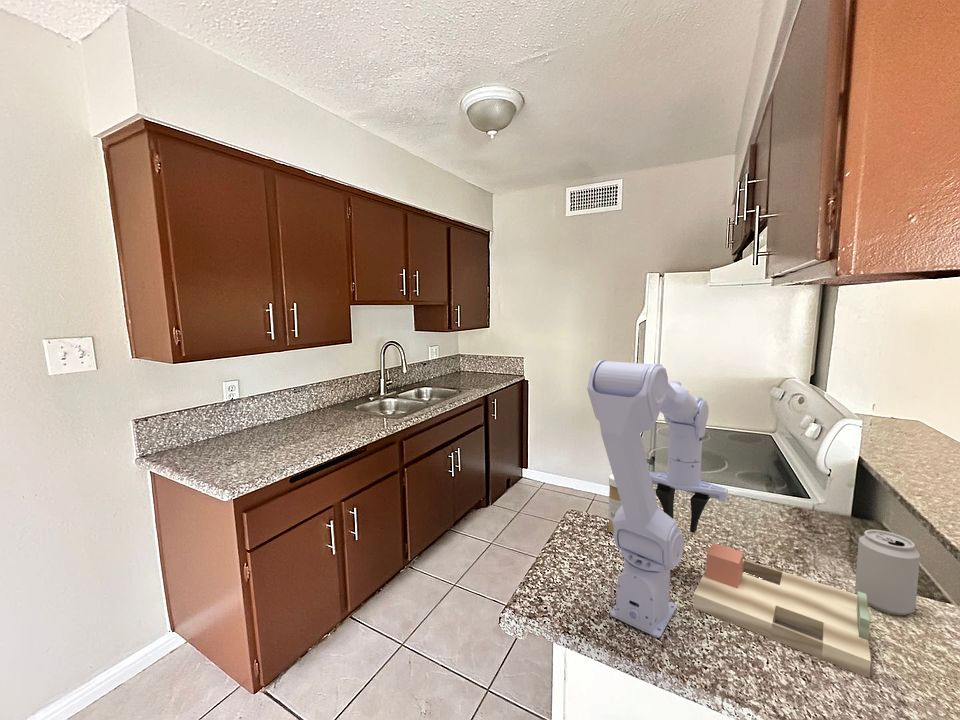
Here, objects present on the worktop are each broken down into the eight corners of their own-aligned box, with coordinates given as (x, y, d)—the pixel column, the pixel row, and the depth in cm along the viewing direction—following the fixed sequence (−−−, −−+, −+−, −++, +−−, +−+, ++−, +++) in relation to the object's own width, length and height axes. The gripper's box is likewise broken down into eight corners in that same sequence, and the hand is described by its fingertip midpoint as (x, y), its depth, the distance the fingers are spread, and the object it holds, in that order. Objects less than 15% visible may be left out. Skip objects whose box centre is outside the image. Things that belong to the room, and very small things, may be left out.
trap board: (869, 678, 56) (872, 640, 56) (692, 607, 70) (694, 576, 70) (861, 610, 70) (864, 579, 69) (715, 562, 84) (716, 536, 84)
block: (737, 588, 72) (739, 563, 71) (705, 577, 75) (706, 553, 74) (742, 575, 75) (743, 552, 75) (711, 565, 79) (712, 542, 78)
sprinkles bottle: (632, 534, 96) (634, 477, 94) (619, 539, 93) (621, 481, 92) (615, 526, 99) (617, 471, 98) (603, 531, 97) (604, 475, 96)
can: (901, 623, 67) (907, 552, 66) (845, 596, 74) (850, 531, 73) (923, 611, 70) (929, 543, 69) (868, 585, 77) (873, 523, 76)
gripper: (732, 461, 77) (728, 531, 78) (651, 446, 86) (649, 509, 87) (724, 470, 71) (720, 546, 72) (640, 454, 81) (637, 521, 82)
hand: (681, 527), depth 79 cm, fingers open, 4 cm apart
